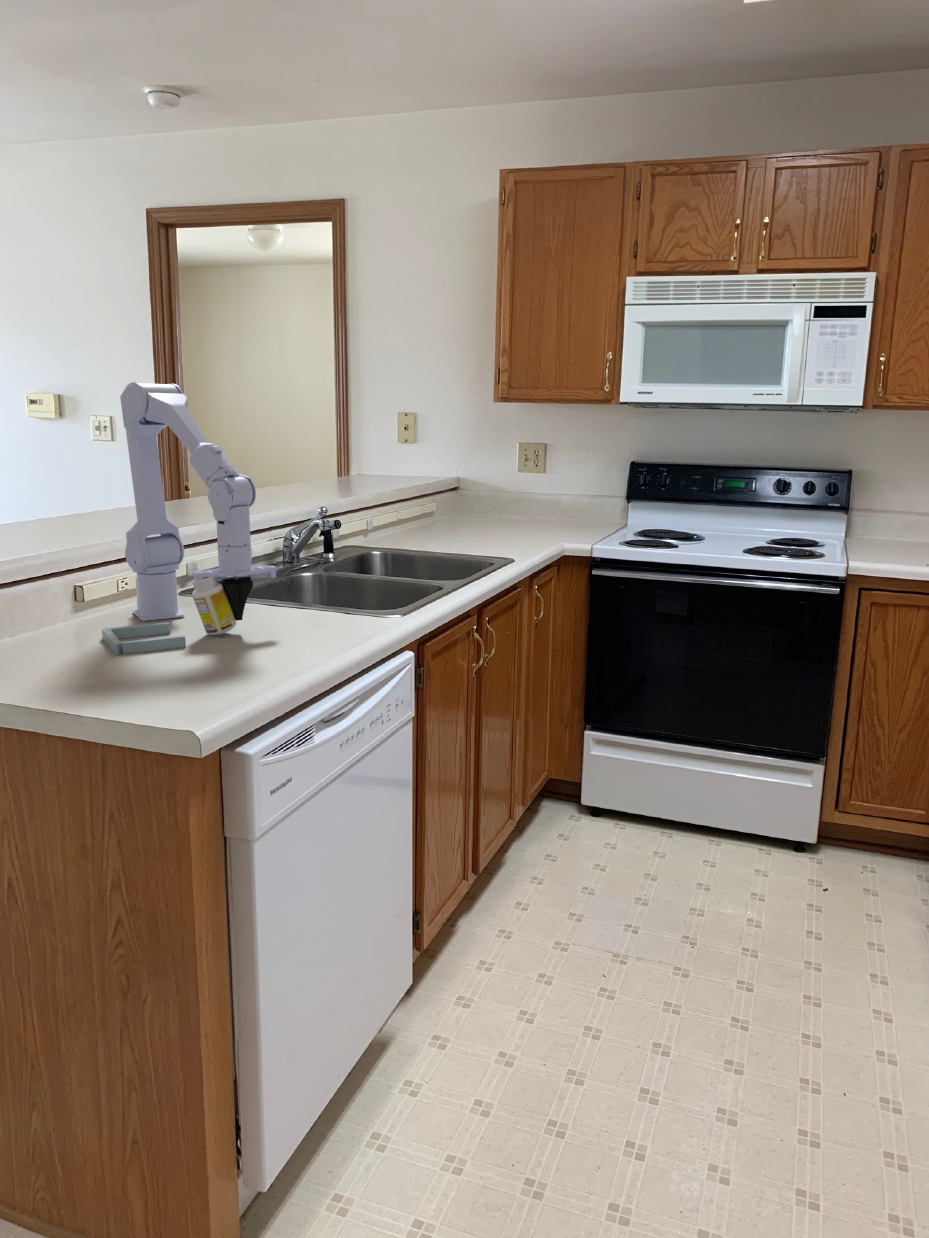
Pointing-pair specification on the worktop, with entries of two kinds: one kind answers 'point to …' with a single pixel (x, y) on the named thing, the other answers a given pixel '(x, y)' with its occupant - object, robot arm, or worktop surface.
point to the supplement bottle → (213, 606)
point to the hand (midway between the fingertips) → (237, 619)
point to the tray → (118, 647)
